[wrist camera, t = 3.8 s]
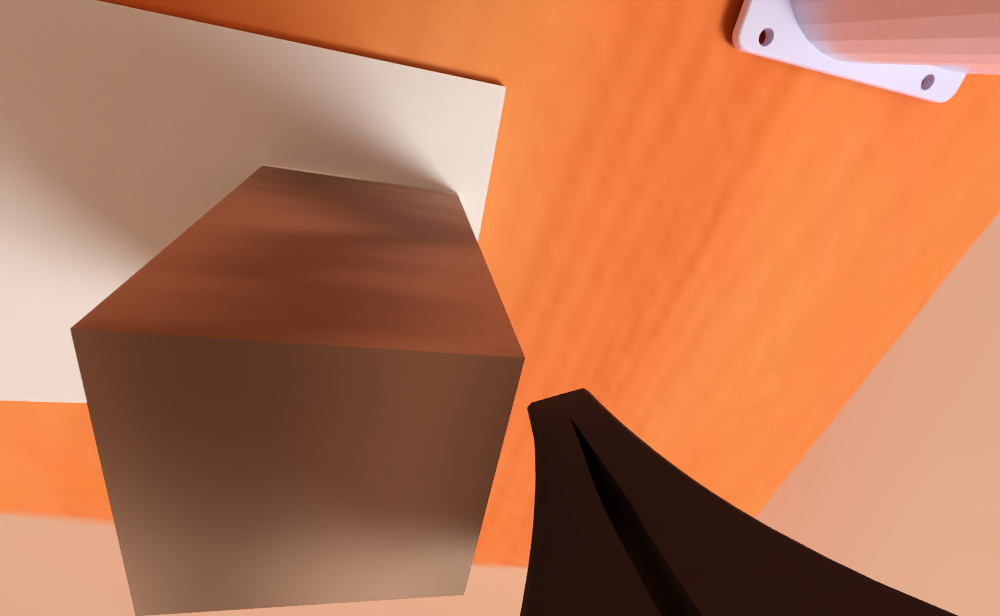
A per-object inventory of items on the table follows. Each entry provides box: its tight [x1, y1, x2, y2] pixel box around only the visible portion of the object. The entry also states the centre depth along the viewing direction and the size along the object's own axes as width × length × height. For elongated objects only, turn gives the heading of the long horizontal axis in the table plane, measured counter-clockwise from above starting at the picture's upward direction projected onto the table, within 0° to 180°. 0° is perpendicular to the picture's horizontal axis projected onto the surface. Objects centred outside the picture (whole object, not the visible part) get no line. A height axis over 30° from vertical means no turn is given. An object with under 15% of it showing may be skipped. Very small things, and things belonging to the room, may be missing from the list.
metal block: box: [70, 164, 525, 616], centre depth 12 cm, size 6×6×10 cm
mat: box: [0, 0, 506, 403], centre depth 15 cm, size 19×13×1 cm
